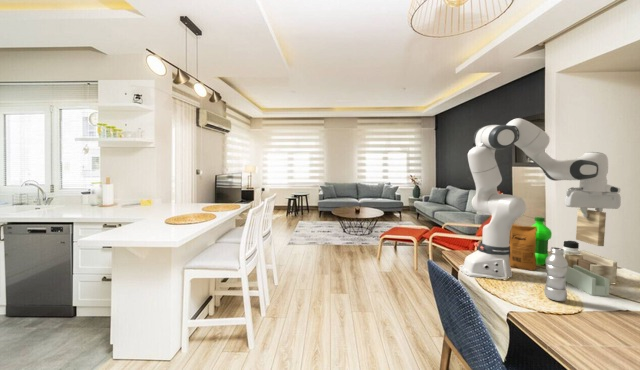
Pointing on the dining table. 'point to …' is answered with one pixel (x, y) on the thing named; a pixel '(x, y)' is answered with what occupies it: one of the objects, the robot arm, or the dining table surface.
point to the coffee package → (523, 247)
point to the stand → (588, 281)
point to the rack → (598, 264)
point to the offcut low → (571, 264)
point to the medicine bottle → (571, 247)
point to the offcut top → (574, 259)
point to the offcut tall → (585, 263)
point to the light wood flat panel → (591, 227)
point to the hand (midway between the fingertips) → (590, 217)
